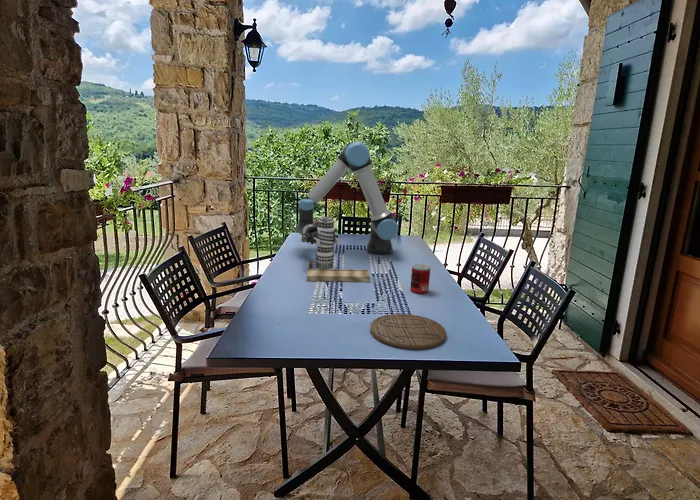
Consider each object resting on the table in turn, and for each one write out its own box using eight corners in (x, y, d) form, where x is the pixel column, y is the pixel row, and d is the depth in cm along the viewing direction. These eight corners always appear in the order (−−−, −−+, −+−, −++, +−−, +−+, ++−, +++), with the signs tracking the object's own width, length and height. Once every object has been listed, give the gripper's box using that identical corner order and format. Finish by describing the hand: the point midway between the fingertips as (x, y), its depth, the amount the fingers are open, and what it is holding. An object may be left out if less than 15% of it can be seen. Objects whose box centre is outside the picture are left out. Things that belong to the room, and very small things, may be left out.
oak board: (366, 274, 208) (367, 269, 207) (369, 282, 197) (369, 276, 196) (307, 273, 205) (307, 268, 204) (307, 281, 194) (307, 275, 194)
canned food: (429, 289, 190) (431, 265, 187) (426, 295, 183) (428, 270, 180) (412, 287, 192) (414, 263, 190) (408, 292, 185) (410, 267, 182)
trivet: (455, 351, 135) (456, 345, 134) (375, 350, 133) (375, 345, 132) (434, 319, 159) (434, 314, 159) (366, 318, 157) (366, 313, 157)
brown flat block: (312, 268, 214) (313, 260, 213) (312, 272, 208) (313, 264, 207) (308, 268, 213) (308, 260, 212) (308, 272, 208) (308, 264, 207)
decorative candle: (337, 269, 211) (340, 218, 205) (324, 272, 205) (325, 219, 199) (324, 265, 217) (326, 215, 211) (310, 268, 211) (312, 217, 205)
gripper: (331, 238, 229) (349, 248, 209) (291, 241, 220) (306, 251, 200) (331, 224, 227) (350, 233, 207) (292, 226, 218) (307, 235, 198)
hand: (328, 242), depth 203 cm, fingers closed on decorative candle, 9 cm apart
